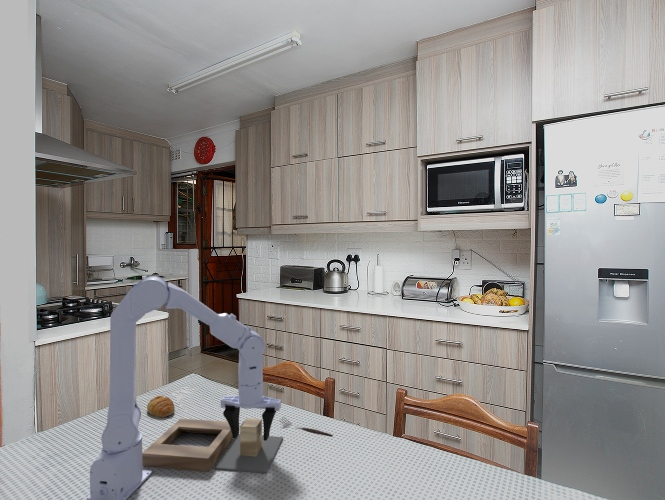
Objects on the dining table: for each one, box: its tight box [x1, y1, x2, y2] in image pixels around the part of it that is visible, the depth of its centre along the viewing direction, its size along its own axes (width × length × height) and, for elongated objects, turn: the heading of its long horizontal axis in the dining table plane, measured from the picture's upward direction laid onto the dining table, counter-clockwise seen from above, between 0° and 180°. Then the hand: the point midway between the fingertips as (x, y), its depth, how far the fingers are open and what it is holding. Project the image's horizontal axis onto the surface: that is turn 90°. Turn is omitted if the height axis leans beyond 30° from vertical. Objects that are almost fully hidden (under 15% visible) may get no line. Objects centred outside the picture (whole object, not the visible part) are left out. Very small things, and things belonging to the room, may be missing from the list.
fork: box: [278, 416, 334, 437], centre depth 97 cm, size 3×16×2 cm, turn 66°
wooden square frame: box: [142, 418, 234, 472], centre depth 88 cm, size 16×16×3 cm
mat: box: [214, 433, 284, 474], centre depth 86 cm, size 14×12×1 cm
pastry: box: [146, 395, 176, 418], centre depth 108 cm, size 9×7×4 cm
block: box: [239, 417, 263, 456], centre depth 86 cm, size 4×4×7 cm
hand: (251, 437), depth 86 cm, fingers open, 7 cm apart
